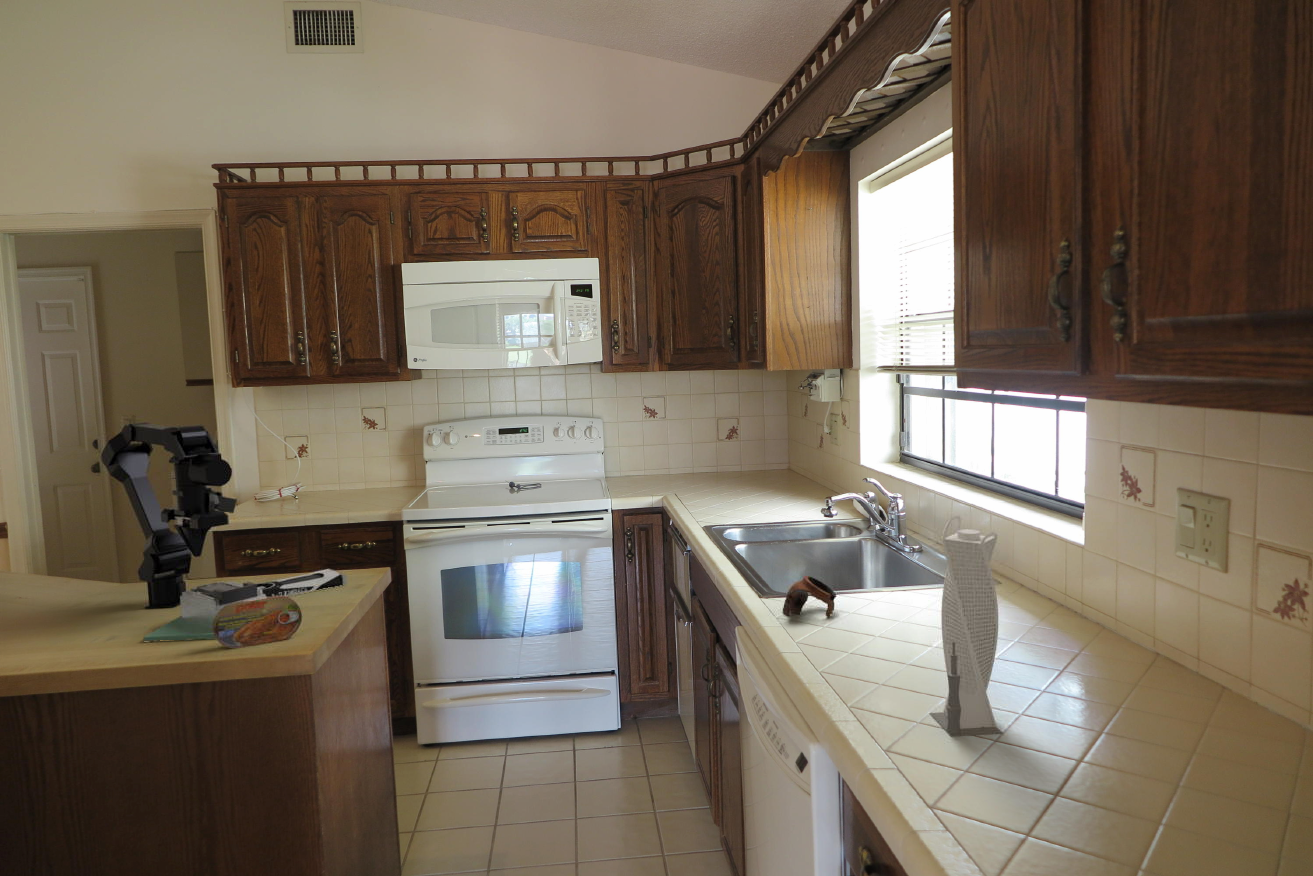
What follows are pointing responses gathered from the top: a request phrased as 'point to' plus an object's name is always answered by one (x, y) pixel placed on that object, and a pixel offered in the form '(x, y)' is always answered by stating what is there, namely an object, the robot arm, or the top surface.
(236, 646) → the tin
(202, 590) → the grey rectangular slab
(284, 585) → the graphics card
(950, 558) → the skyscraper
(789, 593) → the brown curved loop
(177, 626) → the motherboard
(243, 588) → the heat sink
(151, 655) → the top surface
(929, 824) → the top surface
